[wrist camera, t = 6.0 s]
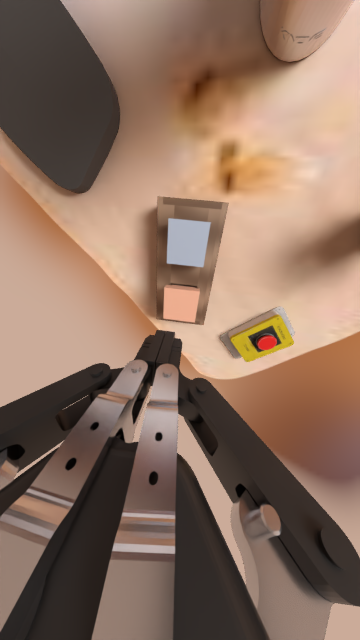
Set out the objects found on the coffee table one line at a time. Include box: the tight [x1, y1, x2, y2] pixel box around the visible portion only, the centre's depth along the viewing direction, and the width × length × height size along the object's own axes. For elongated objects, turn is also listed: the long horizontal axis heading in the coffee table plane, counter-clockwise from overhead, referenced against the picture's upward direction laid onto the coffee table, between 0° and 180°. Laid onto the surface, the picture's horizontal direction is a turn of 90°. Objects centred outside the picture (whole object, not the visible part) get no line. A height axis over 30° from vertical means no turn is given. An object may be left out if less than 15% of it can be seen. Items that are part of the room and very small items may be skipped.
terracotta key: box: [163, 285, 200, 323], centre depth 25 cm, size 6×6×4 cm
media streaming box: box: [0, 0, 120, 193], centre depth 18 cm, size 15×15×3 cm
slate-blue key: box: [167, 218, 211, 267], centre depth 21 cm, size 6×6×4 cm
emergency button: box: [220, 306, 295, 362], centre depth 32 cm, size 9×4×15 cm
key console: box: [157, 196, 229, 325], centre depth 26 cm, size 20×10×4 cm, turn 175°
